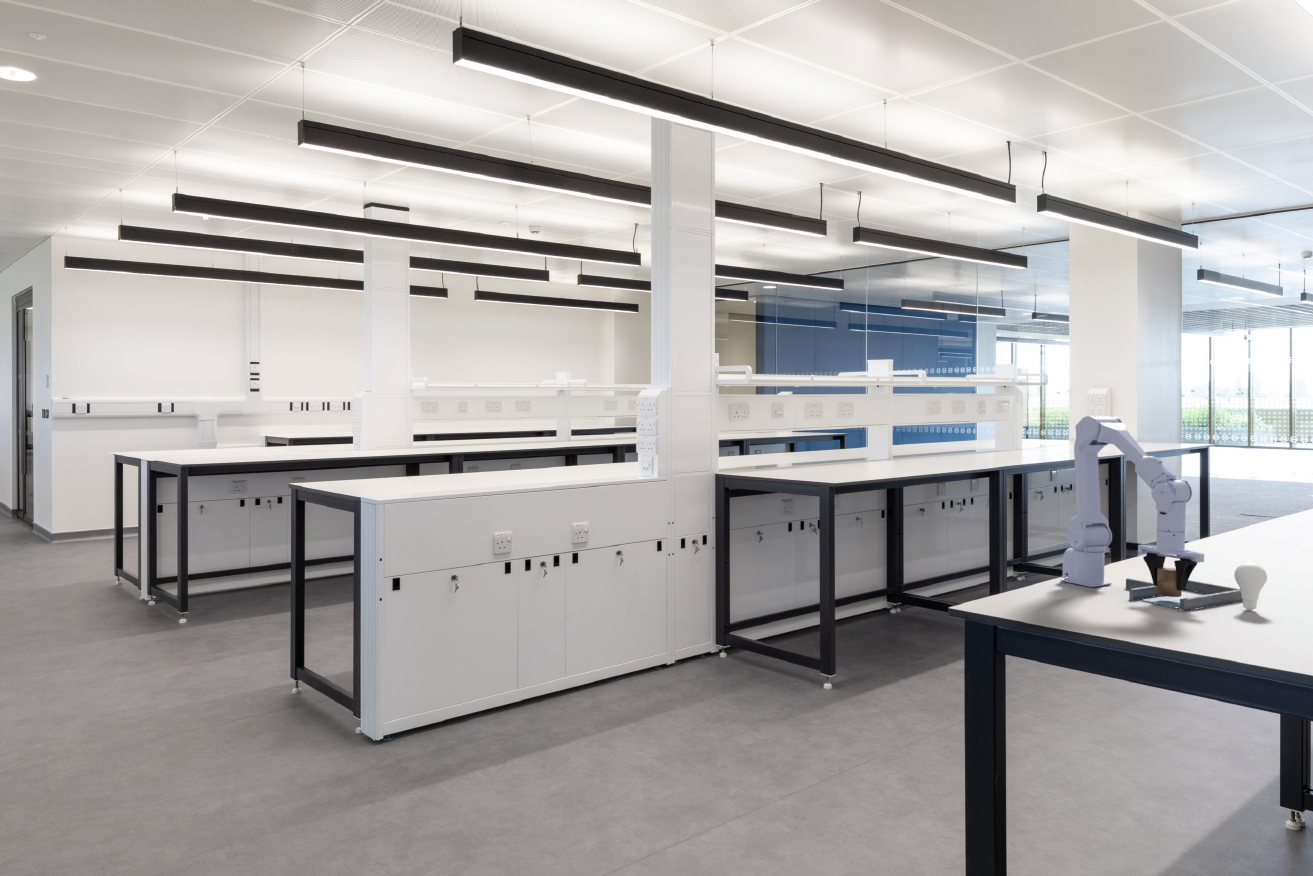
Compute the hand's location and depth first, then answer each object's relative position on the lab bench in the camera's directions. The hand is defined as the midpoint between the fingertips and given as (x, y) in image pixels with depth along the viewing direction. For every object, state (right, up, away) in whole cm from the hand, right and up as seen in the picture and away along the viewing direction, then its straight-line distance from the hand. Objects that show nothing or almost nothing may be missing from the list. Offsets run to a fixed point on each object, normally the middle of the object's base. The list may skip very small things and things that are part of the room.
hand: (1169, 587), depth 201 cm
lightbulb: (+14, -4, -7) cm, 16 cm away
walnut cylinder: (0, -2, 0) cm, 2 cm away
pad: (0, -4, 0) cm, 4 cm away
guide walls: (+4, -3, +7) cm, 9 cm away
